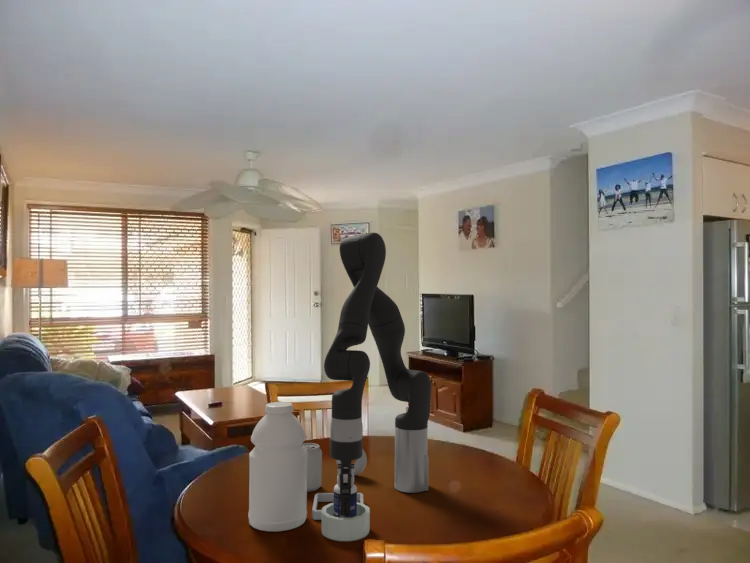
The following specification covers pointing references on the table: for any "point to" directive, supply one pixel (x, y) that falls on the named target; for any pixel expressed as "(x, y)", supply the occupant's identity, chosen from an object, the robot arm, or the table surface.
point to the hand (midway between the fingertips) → (345, 509)
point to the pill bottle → (338, 501)
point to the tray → (326, 498)
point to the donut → (358, 463)
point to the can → (313, 466)
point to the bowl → (345, 524)
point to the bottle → (278, 471)
